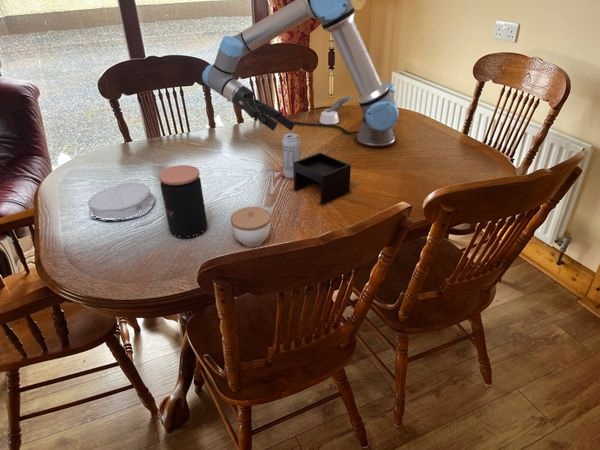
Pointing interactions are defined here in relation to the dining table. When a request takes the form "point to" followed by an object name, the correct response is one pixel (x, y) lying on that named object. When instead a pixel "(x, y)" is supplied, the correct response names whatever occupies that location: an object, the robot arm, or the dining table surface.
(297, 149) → the energy drink can
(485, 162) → the dining table surface
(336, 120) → the inkwell
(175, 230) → the coffee jar
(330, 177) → the stand
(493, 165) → the dining table surface
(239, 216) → the trinket box
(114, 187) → the food container
